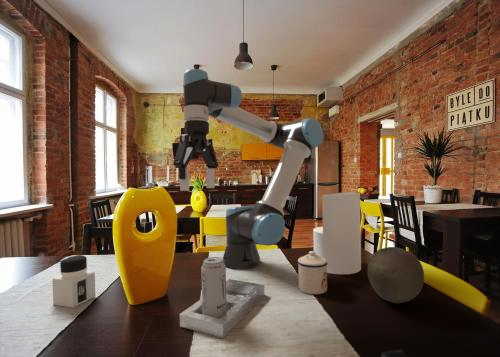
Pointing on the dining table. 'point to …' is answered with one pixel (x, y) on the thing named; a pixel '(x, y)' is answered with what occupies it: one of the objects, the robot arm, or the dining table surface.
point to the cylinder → (340, 233)
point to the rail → (235, 309)
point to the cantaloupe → (395, 274)
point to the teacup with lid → (312, 273)
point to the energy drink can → (214, 287)
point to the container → (73, 282)
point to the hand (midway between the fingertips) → (198, 189)
